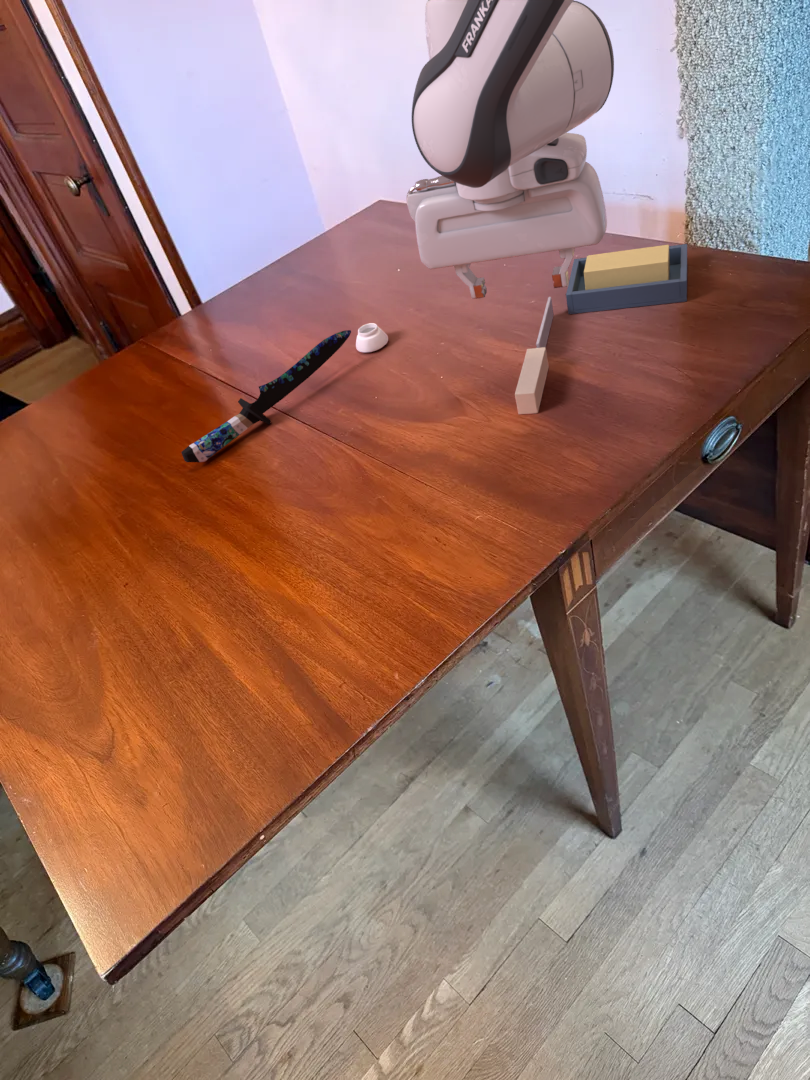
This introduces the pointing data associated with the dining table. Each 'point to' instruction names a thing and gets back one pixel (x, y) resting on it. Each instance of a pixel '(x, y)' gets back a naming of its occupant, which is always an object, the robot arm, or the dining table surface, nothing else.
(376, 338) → the lidless jar
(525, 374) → the butter knife
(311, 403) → the dining table surface
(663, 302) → the butter dish
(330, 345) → the knife
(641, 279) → the butter
